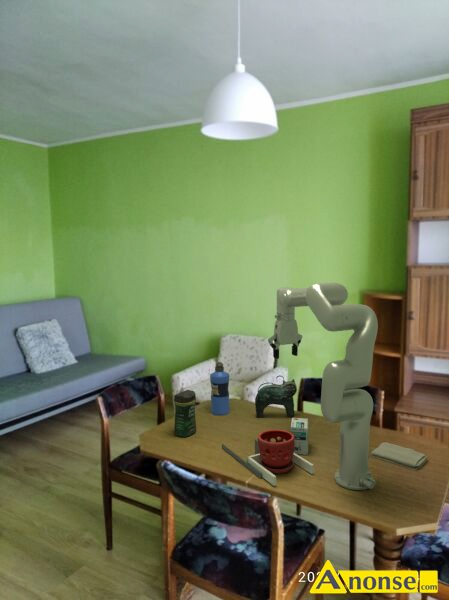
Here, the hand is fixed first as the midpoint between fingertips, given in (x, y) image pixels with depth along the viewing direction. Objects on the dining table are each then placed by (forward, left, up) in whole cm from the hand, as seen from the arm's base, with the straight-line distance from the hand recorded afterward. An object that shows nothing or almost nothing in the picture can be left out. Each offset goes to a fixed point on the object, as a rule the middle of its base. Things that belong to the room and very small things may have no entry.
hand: (285, 356), depth 187 cm
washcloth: (-41, -22, -34) cm, 58 cm away
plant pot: (-24, +22, -34) cm, 46 cm away
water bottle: (+36, +13, -34) cm, 51 cm away
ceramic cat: (+17, -7, -34) cm, 39 cm away
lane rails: (-14, +22, -33) cm, 42 cm away
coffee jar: (+21, +38, -34) cm, 55 cm away
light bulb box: (-16, +5, -34) cm, 38 cm away
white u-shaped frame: (-23, +22, -33) cm, 46 cm away
